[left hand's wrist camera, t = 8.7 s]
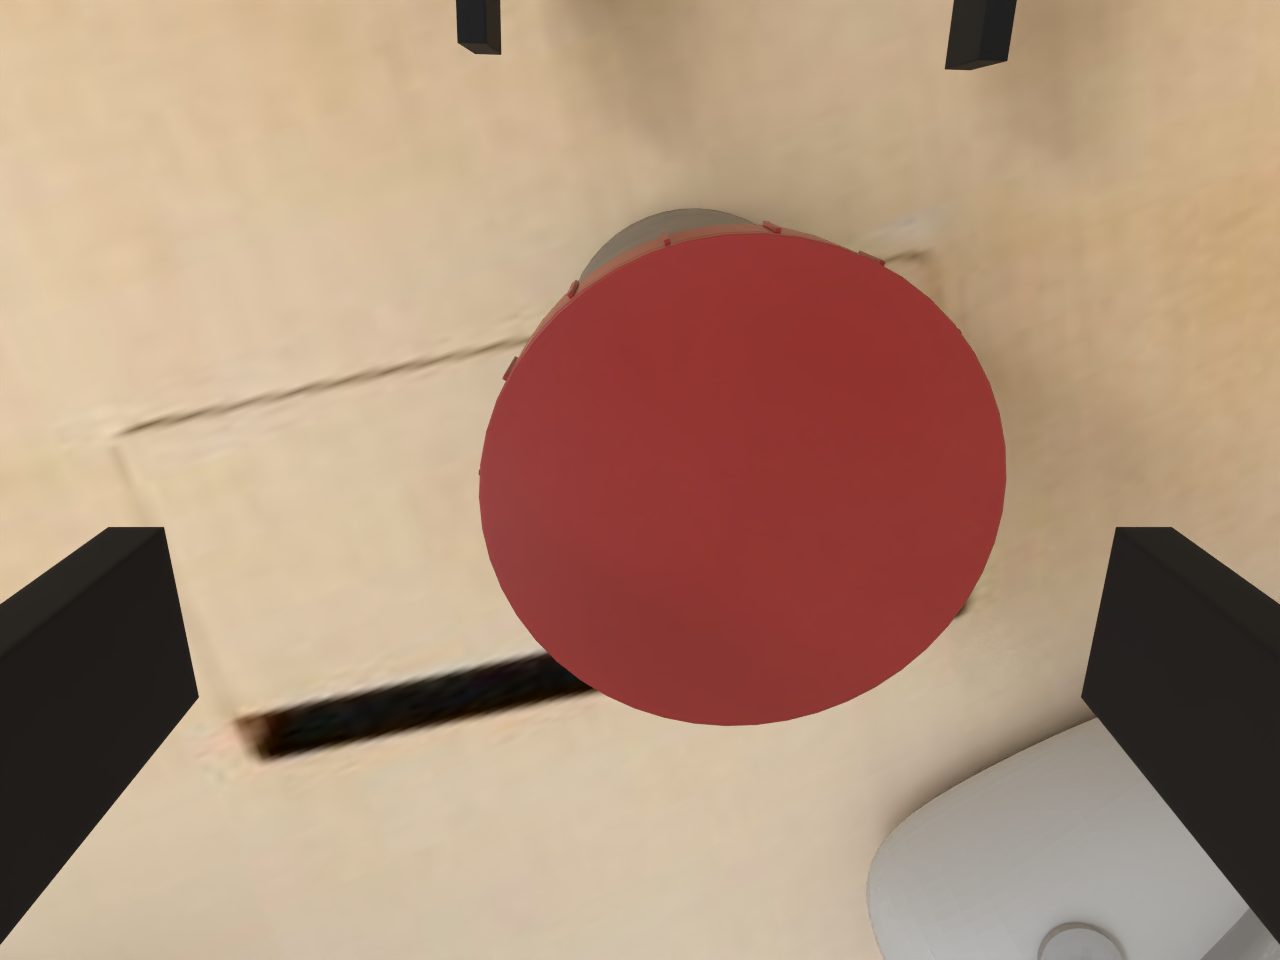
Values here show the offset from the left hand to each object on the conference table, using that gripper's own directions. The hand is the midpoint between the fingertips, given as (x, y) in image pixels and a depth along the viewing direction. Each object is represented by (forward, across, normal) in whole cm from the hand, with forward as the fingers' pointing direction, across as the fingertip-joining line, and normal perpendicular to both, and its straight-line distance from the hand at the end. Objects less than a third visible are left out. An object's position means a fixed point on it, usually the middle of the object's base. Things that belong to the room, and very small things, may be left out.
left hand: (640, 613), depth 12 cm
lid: (+6, +2, 0) cm, 6 cm away
